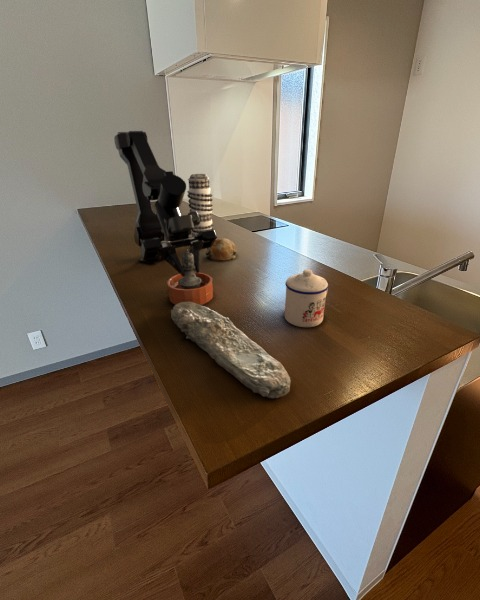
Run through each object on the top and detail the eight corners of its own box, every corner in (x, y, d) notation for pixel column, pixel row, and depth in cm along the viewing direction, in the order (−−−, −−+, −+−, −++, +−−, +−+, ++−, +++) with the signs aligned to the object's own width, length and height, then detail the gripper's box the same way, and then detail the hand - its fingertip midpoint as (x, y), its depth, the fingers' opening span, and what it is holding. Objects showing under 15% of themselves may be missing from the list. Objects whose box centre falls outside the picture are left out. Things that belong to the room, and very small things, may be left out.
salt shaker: (174, 296, 80) (169, 251, 75) (186, 287, 85) (182, 244, 80) (195, 300, 78) (191, 254, 73) (206, 290, 83) (203, 246, 78)
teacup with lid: (305, 333, 67) (310, 283, 62) (275, 316, 73) (277, 269, 68) (339, 315, 74) (347, 268, 68) (309, 301, 80) (313, 257, 75)
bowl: (160, 301, 81) (157, 283, 78) (189, 285, 89) (187, 269, 87) (194, 313, 75) (192, 294, 73) (221, 294, 84) (220, 277, 81)
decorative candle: (186, 242, 125) (180, 174, 114) (203, 237, 131) (199, 172, 120) (202, 247, 120) (197, 176, 108) (219, 241, 126) (216, 174, 114)
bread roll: (227, 271, 107) (237, 251, 103) (200, 257, 107) (208, 237, 103) (233, 261, 116) (242, 242, 112) (208, 248, 115) (216, 229, 111)
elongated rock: (259, 420, 48) (303, 393, 54) (262, 394, 46) (308, 369, 52) (159, 317, 72) (197, 306, 78) (157, 297, 70) (197, 287, 75)
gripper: (136, 204, 70) (158, 267, 67) (212, 196, 78) (235, 251, 75) (132, 231, 80) (152, 287, 76) (201, 221, 88) (220, 271, 85)
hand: (191, 274), depth 78 cm, fingers closed on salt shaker, 3 cm apart
